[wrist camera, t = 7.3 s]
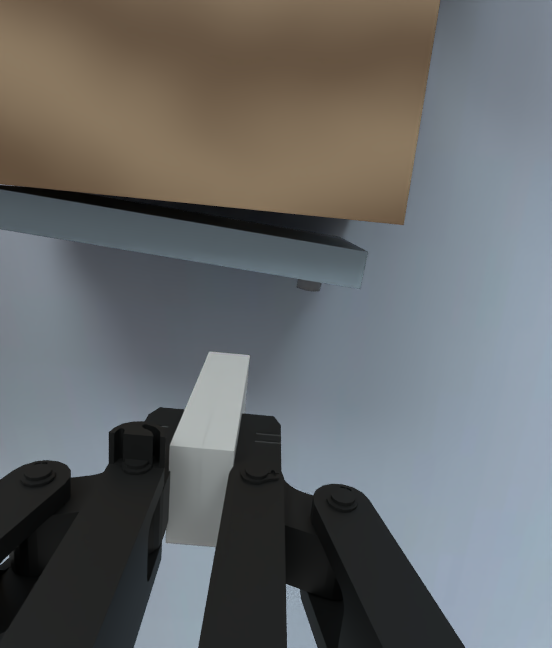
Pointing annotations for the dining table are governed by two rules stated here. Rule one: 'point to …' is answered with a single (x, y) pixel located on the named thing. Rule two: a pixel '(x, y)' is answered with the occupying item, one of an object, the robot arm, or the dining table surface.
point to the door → (183, 235)
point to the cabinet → (218, 101)
